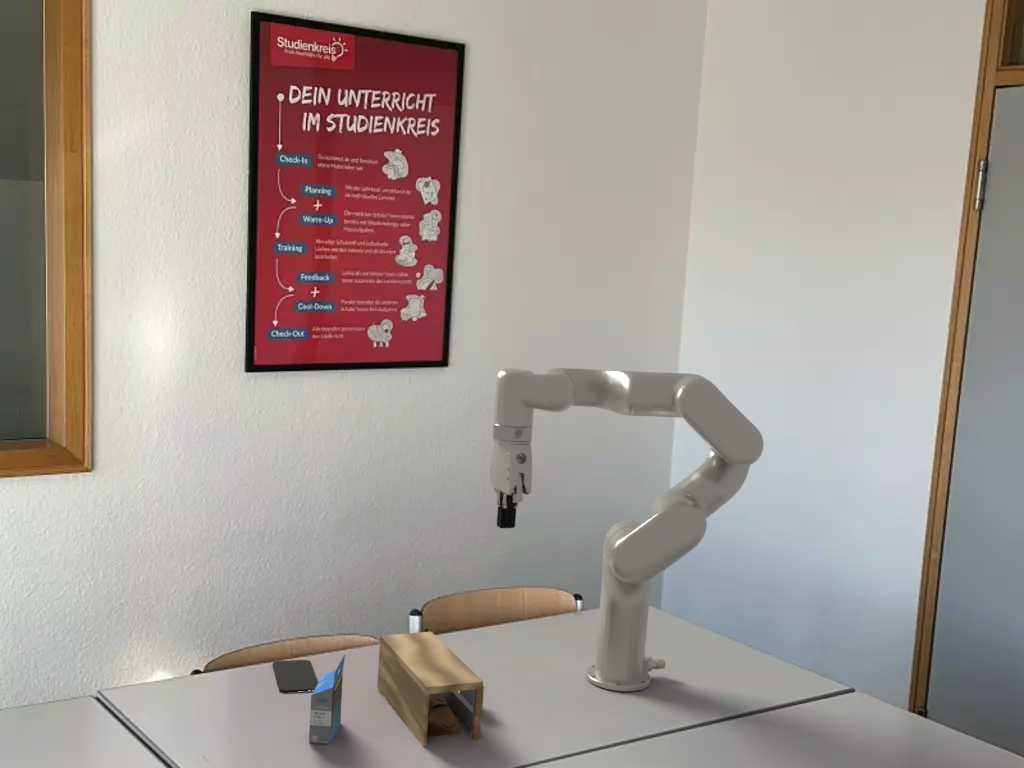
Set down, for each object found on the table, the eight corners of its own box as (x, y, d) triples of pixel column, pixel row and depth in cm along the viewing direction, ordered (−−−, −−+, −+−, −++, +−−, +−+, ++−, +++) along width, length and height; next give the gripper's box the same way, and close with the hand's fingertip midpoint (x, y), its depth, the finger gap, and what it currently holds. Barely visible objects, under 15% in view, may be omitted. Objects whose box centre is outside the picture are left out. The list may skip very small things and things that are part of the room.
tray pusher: (455, 685, 210) (456, 659, 209) (497, 729, 192) (499, 701, 191) (432, 687, 208) (434, 661, 207) (473, 732, 190) (475, 704, 189)
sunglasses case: (469, 733, 189) (452, 702, 188) (433, 757, 188) (416, 726, 186) (440, 692, 206) (424, 664, 204) (407, 714, 205) (390, 685, 203)
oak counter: (427, 683, 210) (431, 631, 209) (479, 739, 188) (483, 681, 186) (377, 688, 206) (380, 635, 205) (423, 746, 183) (427, 687, 182)
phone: (310, 659, 217) (320, 688, 203) (310, 663, 217) (320, 693, 203) (271, 661, 215) (279, 690, 201) (271, 665, 215) (279, 695, 201)
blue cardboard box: (318, 720, 191) (322, 651, 189) (341, 722, 191) (345, 653, 189) (307, 743, 182) (311, 670, 180) (331, 745, 182) (335, 672, 180)
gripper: (547, 440, 208) (539, 536, 210) (514, 427, 222) (507, 517, 224) (510, 440, 205) (503, 538, 207) (479, 427, 218) (473, 518, 221)
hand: (505, 526), depth 215 cm, fingers closed
